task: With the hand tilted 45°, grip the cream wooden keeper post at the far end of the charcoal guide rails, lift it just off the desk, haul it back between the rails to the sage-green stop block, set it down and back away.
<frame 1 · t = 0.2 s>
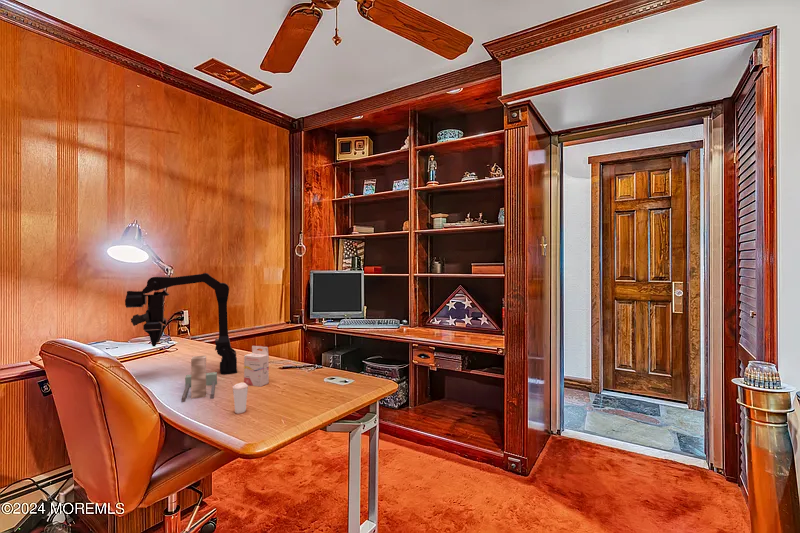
hand: (155, 344, 163), 15 cm above the table, tool pointing down, fingers open, 9 cm apart
milkshake: (239, 412, 126), on the table
ink cartridge box: (256, 384, 156), on the table
guide track: (200, 388, 150), on the table
keeper post: (198, 396, 142), on the table
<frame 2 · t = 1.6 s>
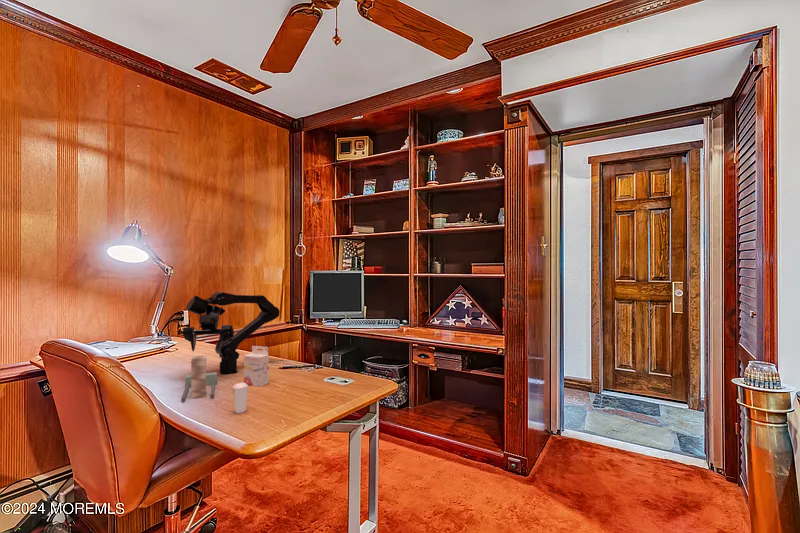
hand: (205, 349, 157), 14 cm above the table, tool tilted 45°, fingers open, 9 cm apart
nothing on the table moved.
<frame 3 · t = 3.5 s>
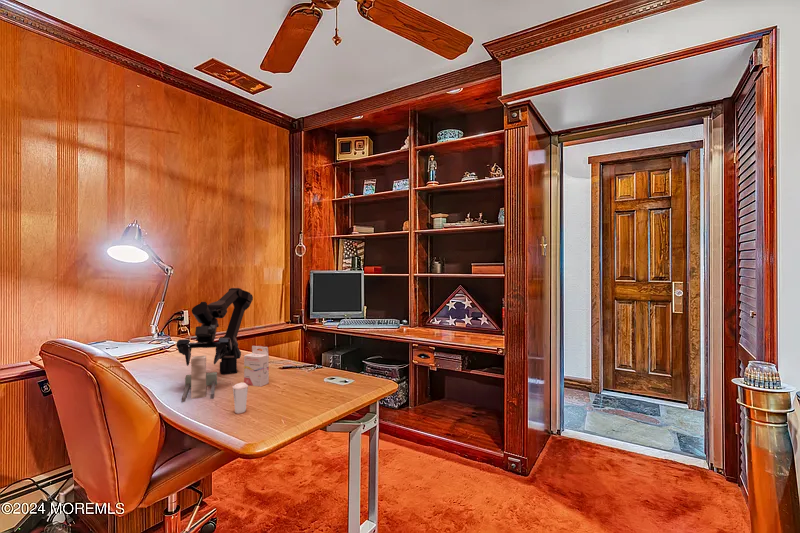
hand: (200, 364, 145), 10 cm above the table, tool tilted 45°, fingers open, 9 cm apart
nothing on the table moved.
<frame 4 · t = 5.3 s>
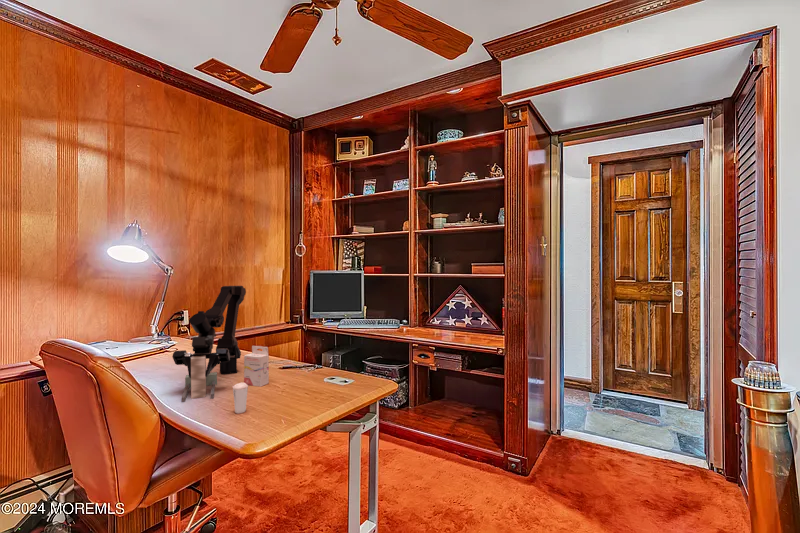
hand: (197, 376, 141), 7 cm above the table, tool tilted 45°, fingers closed on keeper post, 5 cm apart
keeper post: (198, 395, 142), on the table, touching gripper
everything else where it was.
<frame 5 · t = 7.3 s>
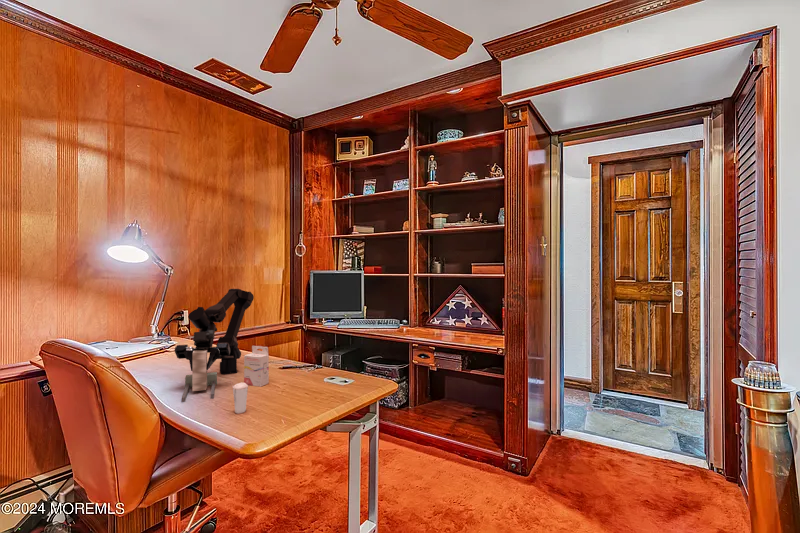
hand: (199, 370, 146), 8 cm above the table, tool tilted 45°, fingers closed on keeper post, 5 cm apart
keeper post: (199, 388, 146), point 1 cm above the table, touching gripper
everything else where it was.
when the fingers open (7 cm above the table, at t = 9.5 s): keeper post stays where it is, on the table.
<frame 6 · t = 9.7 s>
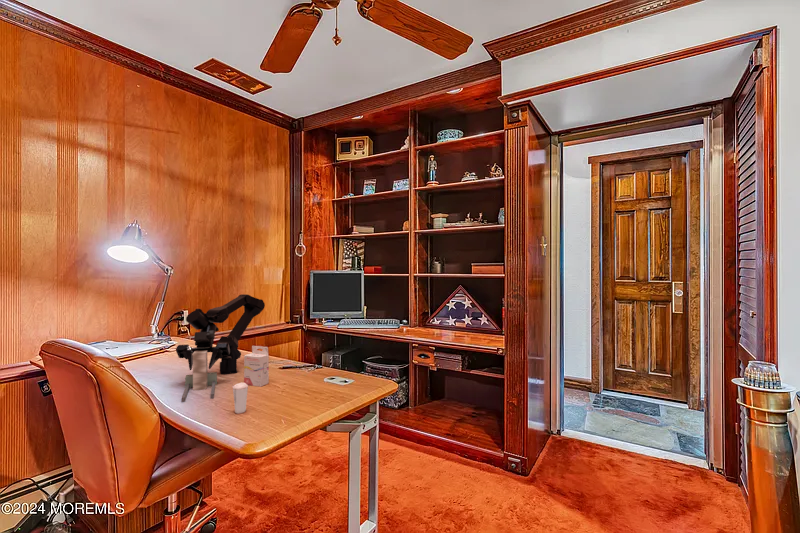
hand: (199, 369, 150), 8 cm above the table, tool tilted 45°, fingers open, 6 cm apart
keeper post: (200, 388, 151), on the table
everything else where it was.
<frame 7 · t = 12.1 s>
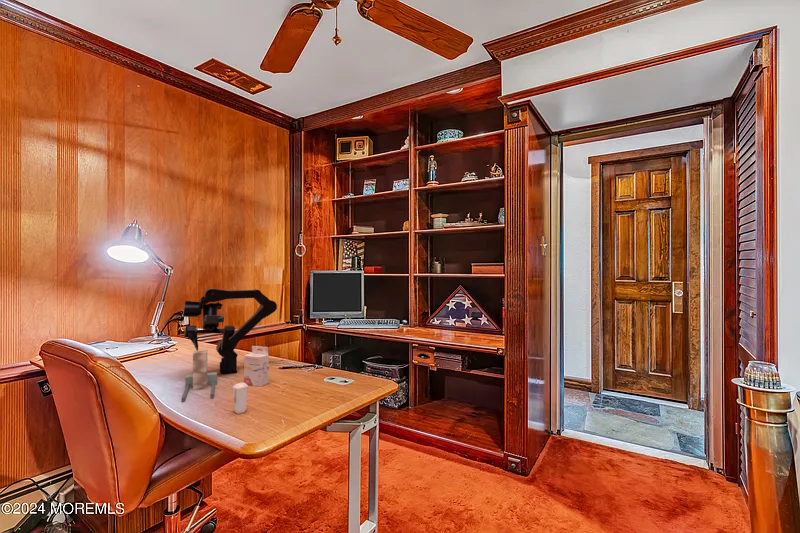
hand: (209, 350, 161), 13 cm above the table, tool tilted 35°, fingers open, 9 cm apart
nothing on the table moved.
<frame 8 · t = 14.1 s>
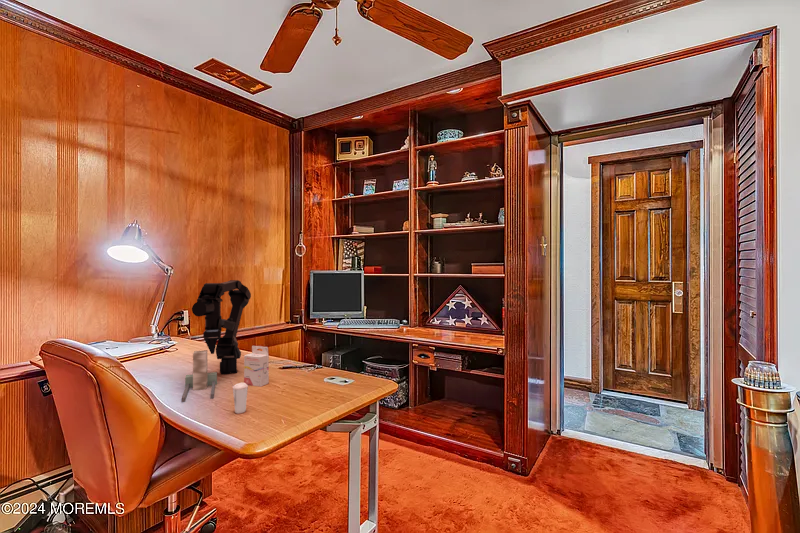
hand: (213, 351, 161), 12 cm above the table, tool pointing down, fingers open, 9 cm apart
nothing on the table moved.
at the end: keeper post 0.6 cm from the target spot, on the table; keeper post tilted 0°; the gripper is holding nothing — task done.
